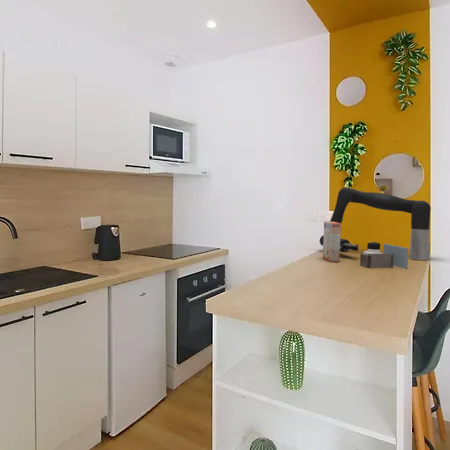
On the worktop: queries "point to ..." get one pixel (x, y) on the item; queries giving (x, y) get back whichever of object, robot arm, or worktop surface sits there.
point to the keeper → (377, 260)
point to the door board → (397, 255)
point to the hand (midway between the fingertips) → (356, 248)
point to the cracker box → (331, 241)
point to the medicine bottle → (372, 248)
